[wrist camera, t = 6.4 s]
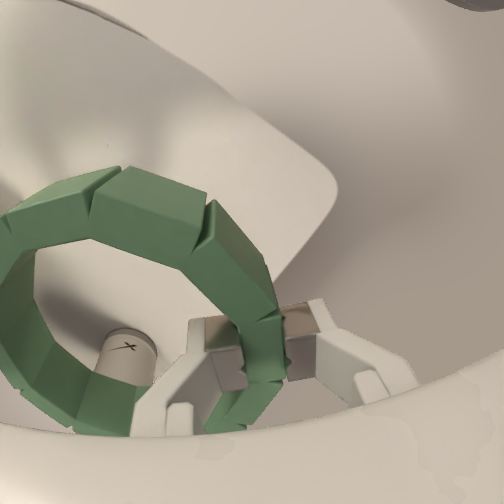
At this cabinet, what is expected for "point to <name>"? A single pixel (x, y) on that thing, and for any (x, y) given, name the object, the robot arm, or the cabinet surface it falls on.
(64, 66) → the cabinet surface
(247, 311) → the ring
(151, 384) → the travel mug
